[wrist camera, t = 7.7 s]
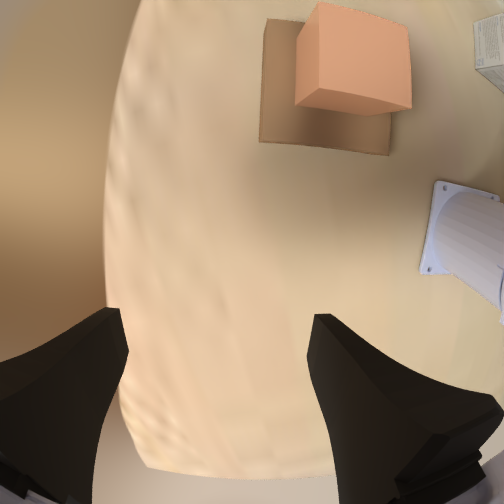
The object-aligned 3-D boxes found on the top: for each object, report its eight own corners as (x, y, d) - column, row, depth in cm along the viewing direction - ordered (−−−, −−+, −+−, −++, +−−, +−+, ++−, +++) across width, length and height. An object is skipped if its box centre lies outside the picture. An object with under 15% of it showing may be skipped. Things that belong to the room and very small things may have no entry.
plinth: (373, 52, 15) (389, 43, 13) (371, 154, 18) (388, 155, 16) (263, 33, 15) (267, 18, 12) (258, 142, 17) (262, 140, 15)
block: (366, 52, 13) (407, 27, 8) (366, 116, 15) (411, 108, 10) (296, 38, 13) (318, 1, 8) (294, 105, 14) (319, 87, 10)
